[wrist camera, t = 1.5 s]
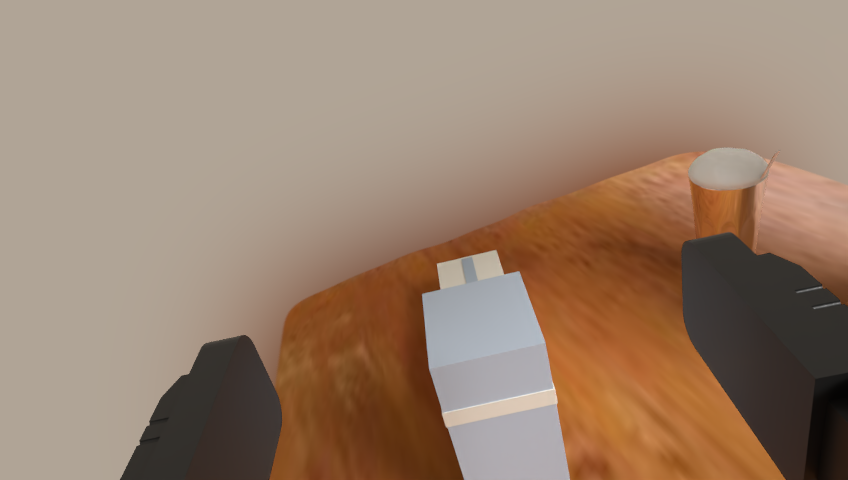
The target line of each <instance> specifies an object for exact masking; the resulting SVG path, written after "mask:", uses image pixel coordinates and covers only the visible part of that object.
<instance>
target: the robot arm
mask: <svg viewBox="0 0 848 480" xmlns="http://www.w3.org/2000/svg"><path fill="white" fill-rule="evenodd" d="M682 293H683V316H684V322H685V326H686V329H687V332H688V335H689V337H690V340H691V342H692V344H693V345H694V347H695V349H696V350H697V351H698V353H699V354H700V356H701V357H702V359H703V360H704V362H705V363H706V364H707V366H708V367H709V369H710V370H711V372H712V373H713V375H714V376H715V377H716V379H717V380H718V382H719V383H720V385H721V386H722V388H723V389H724V391H725V392H726V393H727V395H728V396H729V398H730V399H731V401H732V402H733V404H734V405H735V406H736V408H737V409H738V411H739V412H740V414H741V415H742V417H743V418H744V419H745V421H746V422H747V424H748V425H749V427H750V428H751V430H752V431H753V433H754V434H755V435H756V437H757V438H758V440H759V441H760V443H761V444H762V446H763V447H764V448H765V450H766V451H767V453H768V454H769V456H770V457H771V459H772V460H773V461H774V463H775V464H776V466H777V467H778V469H779V470H780V472H781V473H782V474H783V476H784V477H785V479H786V480H848V307H847V306H846V305H845V304H843V305H842V304H841V303H840V300H839V299H838V298H837V297H836V296H835V295H833V294H832V293H831V292H830V291H829V290H828V289H827V288H825V289H823V287H822V284H821V283H820V282H818V281H817V280H816V279H815V278H814V277H813V276H811V275H810V274H809V273H808V272H807V271H806V270H805V269H803V268H802V267H801V266H799V265H797V264H795V263H792V262H790V261H788V260H785V259H783V258H781V257H778V256H776V255H774V254H771V253H767V254H762V255H756V254H755V253H754V252H753V251H752V250H751V249H750V248H749V247H748V246H747V245H745V244H744V243H743V242H742V241H741V240H740V239H739V238H738V237H737V236H736V235H735V234H733V233H731V232H726V233H722V234H717V235H712V236H708V237H703V238H698V239H694V240H689V241H685V242H684V244H683V246H682ZM149 422H150V426H147V427H146V429H145V431H144V433H143V435H142V437H141V439H140V445H139V446H137V447H136V449H135V451H134V453H133V455H132V457H131V459H130V461H129V463H128V465H127V467H126V469H125V471H124V473H123V475H122V477H121V479H120V480H269V478H270V474H271V470H272V466H273V461H274V457H275V453H276V448H277V444H278V440H279V436H280V431H281V426H282V412H281V405H280V401H279V397H278V395H277V392H276V390H275V388H274V386H273V384H272V382H271V380H270V378H269V376H268V373H267V371H266V369H265V367H264V365H263V363H262V361H261V359H260V357H259V354H258V352H257V350H256V348H255V346H254V344H253V342H252V341H251V339H250V338H249V337H248V336H246V335H242V336H237V337H233V338H229V339H223V340H219V341H214V342H210V343H206V344H204V345H203V346H202V348H201V350H200V352H199V354H198V356H197V358H196V360H195V362H194V365H193V367H192V369H191V371H190V373H189V374H188V375H183V376H181V377H180V378H179V379H178V380H177V381H176V383H174V384H173V386H172V387H171V388H170V389H169V390H168V391H167V392H166V393H165V394H164V395H163V396H162V397H161V399H160V401H159V403H158V405H157V407H156V409H155V411H154V413H153V415H152V417H151V419H150V421H149Z"/></svg>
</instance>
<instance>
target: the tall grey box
mask: <svg viewBox="0 0 848 480" xmlns="http://www.w3.org/2000/svg"><path fill="white" fill-rule="evenodd" d="M422 299H423V310H424V320H425V331H426V342H427V352H428V363H429V370H430V374H431V377H432V380H433V383H434V386H435V389H436V392H437V396H438V399H439V402H440V405H441V411H442V416H443V419H444V422H445V425H446V428H447V427H448V430H449V433H450V437H451V440H452V443H453V446H454V449H455V452H456V455H457V459H458V462H459V465H460V468H461V471H462V474H463V478H464V480H570V477H569V471H568V466H567V460H566V455H565V449H564V444H563V438H562V432H561V427H560V421H559V416H558V410H557V405H556V404H558V402H557V397H556V391H555V387H554V384H553V382H552V377H551V371H550V366H549V360H548V354H547V349H546V343H545V340H544V338H543V335H542V332H541V329H540V327H539V324H538V321H537V318H536V316H535V313H534V310H533V308H532V305H531V302H530V299H529V297H528V294H527V291H526V288H525V286H524V283H523V280H522V277H521V275H520V272H519V271H518V272H514V273H509V274H505V275H501V276H496V277H492V278H488V279H484V280H479V281H475V282H471V283H467V284H462V285H458V286H454V287H449V288H445V289H441V290H437V291H432V292H428V293H424V294H422Z"/></svg>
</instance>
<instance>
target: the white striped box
mask: <svg viewBox="0 0 848 480" xmlns="http://www.w3.org/2000/svg"><path fill="white" fill-rule="evenodd" d="M437 268H438V275H439V282H440V289H445V288H449V287H454V286H458V285H462V284H467V283H471V282H475V281H479V280H484V279H488V278H492V277H496V276H501V275H504V272H503V269H502V266H501V263H500V260H499V257H498V254H497V251H496V250H493V251H489V252H485V253H481V254H476V255H472V256H468V257H464V258H460V259H455V260H451V261H447V262H443V263H438V264H437Z"/></svg>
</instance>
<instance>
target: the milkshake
mask: <svg viewBox="0 0 848 480" xmlns="http://www.w3.org/2000/svg"><path fill="white" fill-rule="evenodd" d="M779 152H780V150H778V151H777V152H776V153H775V154H774V156H773V158H772V159H771V161H770V163H769V164H767V162H766V161H765V160H764V159H763V158H762V157H761V156H759V155H758V154H756V153H754V152H751V151H749V150H747V149H737V148H716V149H712V150H709V151H708V152H706V153H704V154H703V155H701V156H699V157H698V158H696V159H695V161H694V162H693V163H692V164H691V166H690V168H689V171H688V176H689V183H690V190H691V197H692V204H693V212H694V222H695V232H696V239H698V238H703V237H708V236H712V235H717V234H722V233H726V232H731V233H733V234H735V235H736V236H737V237H738V238H739V239H740V240H741V241H742V242H743V243H744V244H745V245H747V246H748V247H749V248H750V249H751V250H752V251H753V252H754V253H756V246H757V239H758V232H759V225H760V218H761V212H762V206H763V201H764V196H765V190H766V185H767V179H768V174H769V168H770V167H771V165H772V163H773V162H774V160H775V158H776V157H777V155H778V153H779Z"/></svg>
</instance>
